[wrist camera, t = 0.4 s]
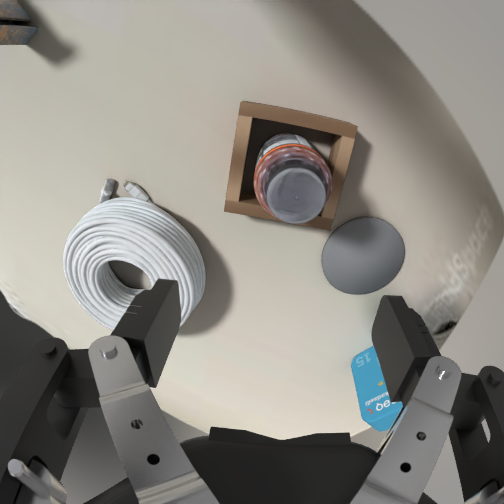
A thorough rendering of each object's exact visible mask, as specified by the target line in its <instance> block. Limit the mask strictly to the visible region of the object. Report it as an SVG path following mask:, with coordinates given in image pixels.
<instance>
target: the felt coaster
mask: <svg viewBox="0 0 504 504" xmlns="http://www.w3.org/2000/svg"><path fill="white" fill-rule="evenodd" d="M403 258H404V245H403V241H402V238H401V236H400V234H399V233H398V232H397V230H396V229H395V228H394V227H393V226H392V225H391V224H390V223H388V222H387V221H385V220H382V219H379V218H375V217H360V218H356V219H353V220H350V221H348V222H346V223H344V224H343V225H341V226H340V227H339V228H337V229H336V230H335V231H334V232H333V233H332V234H331V236H330V237H329V238H328V240H327V242H326V244H325V246H324V248H323V252H322V268H323V272H324V274H325V277H326V278H327V280H328V281H329V283H330V284H331V285H332V286H333V287H335V288H336V289H338V290H340V291H342V292H344V293H348V294H356V295H357V294H367V293H370V292H373V291H376V290H378V289H380V288H382V287H383V286H385V285H386V284H387V283H389V282H390V281H391V280H392V279H393V278H394V277H395V275H396V274H397V272H398V271H399V269H400V267H401V265H402V262H403Z"/></svg>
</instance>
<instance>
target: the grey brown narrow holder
mask: <svg viewBox="0 0 504 504" xmlns="http://www.w3.org/2000/svg"><path fill="white" fill-rule="evenodd" d="M12 20H18V21H29V22H30V21H31V18H29V16H28V15H27V14H26V12H25V11H24V9H23V8H22V7H21V5H20V4H19V3H18V1H17V0H0V45H26V44H27V43H28V41H29V40H30V39H31V37H32V36H33V35H34V33H35V32H36V31H37V29H38V28H37V27H29V26H15V25H14V23H13V22H12Z"/></svg>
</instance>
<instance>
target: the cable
mask: <svg viewBox="0 0 504 504" xmlns="http://www.w3.org/2000/svg"><path fill="white" fill-rule="evenodd" d="M114 184H115V181H114V180H113V179H106V180H105V184H104V186H103V188H102V191H101V196H100V201H99V202H100V203H101V204H100V205H98V206H96V207H94V208H93V209H92V210H90V211H89V212H88V213H87V214H86V215H85V216H84V217H83V218H82V219H81V220H80V221H79V223H78V224H77V225H76V226H75V227H74V228H73V230H72V231H71V233H70V234H69V236H68V238H67V241H66V244H65V249H64V257H63V265H64V273H65V276H66V280H67V282H68V285H69V287H70V289H71V291H72V293H73V295H74V297H75V298H76V300H77V301H78V302H79V304H80V305H81V306H82V307H83V309H84V310H85V311H86V312H87V313H88V314H89V315H90V316H91V317H93V318H94V319H95V320H96V321H98V322H99V323H100V324H102V325H104V326H105V327H107V328H109V329H112V330H114V329H115V327H116V325H117V324H118V322H119V321H120V319H121V318H122V316H123V314H124V313H126V310H127V308H128V307H129V306H130V304H131V302H132V300H133V299H134V297H135V296H136V295H138V294H139V293H141V292H142V291H143V290H145V289H132V288H129V287H126V286H125V285H124V284H122V283H121V282H120V281H119V279H118V278H117V277H116V276H115V274H114V273H113V271H112V270H111V268H110V266H109V264H108V261H112V260H120V261H125V262H128V263H131V264H133V265H135V266H137V267H138V268H140V269H142V270H143V271H144V272H145V273H146V274H147V275H148V277H149V279H150V281H151V285H152V287H153V286H154V284H155V282H156V281H157V279H159V278H160V279H170V280H177V281H178V284H179V294H180V305H181V323H180V327H181V326H182V325H183V324H184V323H185V321H186V320H187V319H188V317H189V316H190V314H191V313H192V311H193V309H194V308H195V307H196V306H197V305H198V303H199V302H200V300H201V298H202V296H203V293H204V289H205V280H206V273H205V266H204V262H203V258H202V255H201V253H200V251H199V249H198V247H197V245H196V243H195V241H194V240H193V238H192V237H191V235H190V234H189V233H188V232H187V231H186V230H185V228H184V227H183V226H182V225H181V224H180V223H178V222H177V221H176V220H175V219H174V218H173V217H172V216H171V215H169V214H168V213H167V212H165V211H164V210H162V209H161V208H159V207H157V206H155V205H154V204H153V203H152V202H151V201H150V200H149V199H148V198H149V196H148V195H147V194H146V193H145V192H144V191H143V190H142V189H141V188H140V187H139V186H138V185H137V184H134V183H132V182H129V181H126V180H125V181H124V183H123V186H124V187H125V190H126V191H127V192H129V194H130V195H131V196H132V197H120V198H114V199H110V197H111V194H112V192H113V188H114ZM109 199H110V200H109ZM151 289H152V288H149V289H146V290H151ZM180 327H179V328H180Z"/></svg>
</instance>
